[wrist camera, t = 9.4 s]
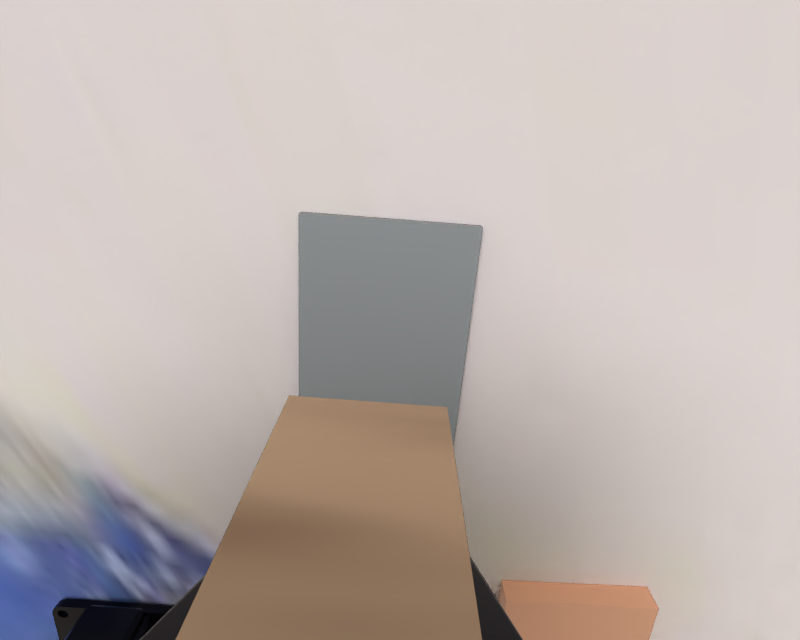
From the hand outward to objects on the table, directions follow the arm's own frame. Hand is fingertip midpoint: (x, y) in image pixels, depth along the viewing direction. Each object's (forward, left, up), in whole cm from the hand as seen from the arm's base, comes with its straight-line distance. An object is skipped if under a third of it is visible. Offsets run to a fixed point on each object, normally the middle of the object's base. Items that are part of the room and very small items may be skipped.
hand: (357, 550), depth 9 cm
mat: (-3, 0, -10) cm, 11 cm away
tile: (-12, -10, -10) cm, 19 cm away
